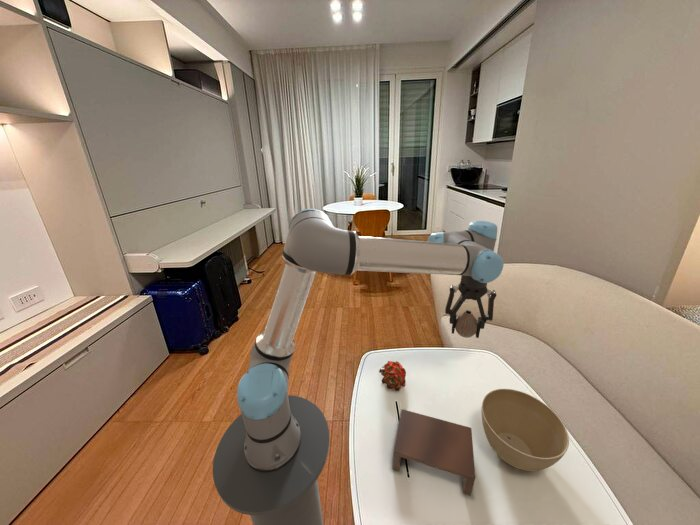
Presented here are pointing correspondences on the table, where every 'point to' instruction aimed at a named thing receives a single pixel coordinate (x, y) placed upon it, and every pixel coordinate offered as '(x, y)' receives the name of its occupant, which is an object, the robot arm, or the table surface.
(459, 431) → the shelf
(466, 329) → the vase
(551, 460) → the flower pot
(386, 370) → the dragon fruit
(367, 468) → the table surface
